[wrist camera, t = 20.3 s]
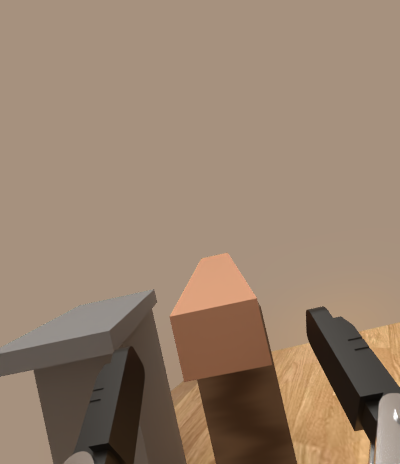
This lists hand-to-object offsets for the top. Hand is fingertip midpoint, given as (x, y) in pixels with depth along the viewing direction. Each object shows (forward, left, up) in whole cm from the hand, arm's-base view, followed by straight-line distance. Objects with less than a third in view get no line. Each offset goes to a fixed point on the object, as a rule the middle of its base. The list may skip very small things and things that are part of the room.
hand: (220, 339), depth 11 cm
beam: (0, +13, -1) cm, 13 cm away
